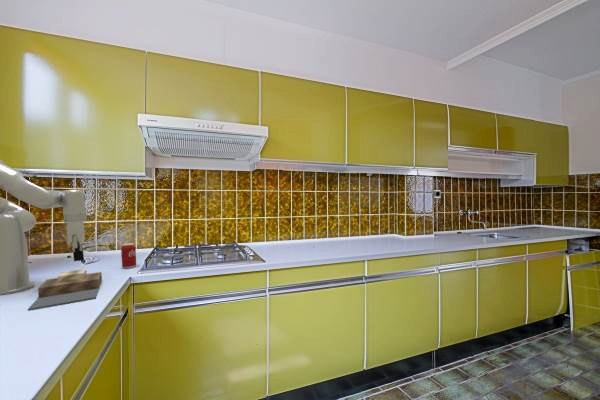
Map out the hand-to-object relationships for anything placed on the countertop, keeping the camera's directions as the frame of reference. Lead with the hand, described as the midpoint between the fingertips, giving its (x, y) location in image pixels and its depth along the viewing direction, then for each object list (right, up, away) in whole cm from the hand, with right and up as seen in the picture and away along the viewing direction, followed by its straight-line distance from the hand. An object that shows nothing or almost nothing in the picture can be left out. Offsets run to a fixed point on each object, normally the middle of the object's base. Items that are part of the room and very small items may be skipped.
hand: (79, 260), depth 122 cm
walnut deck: (+5, -10, -9) cm, 14 cm away
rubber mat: (+11, -10, -20) cm, 25 cm away
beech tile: (+4, -6, -9) cm, 11 cm away
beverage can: (+8, -9, +23) cm, 25 cm away
